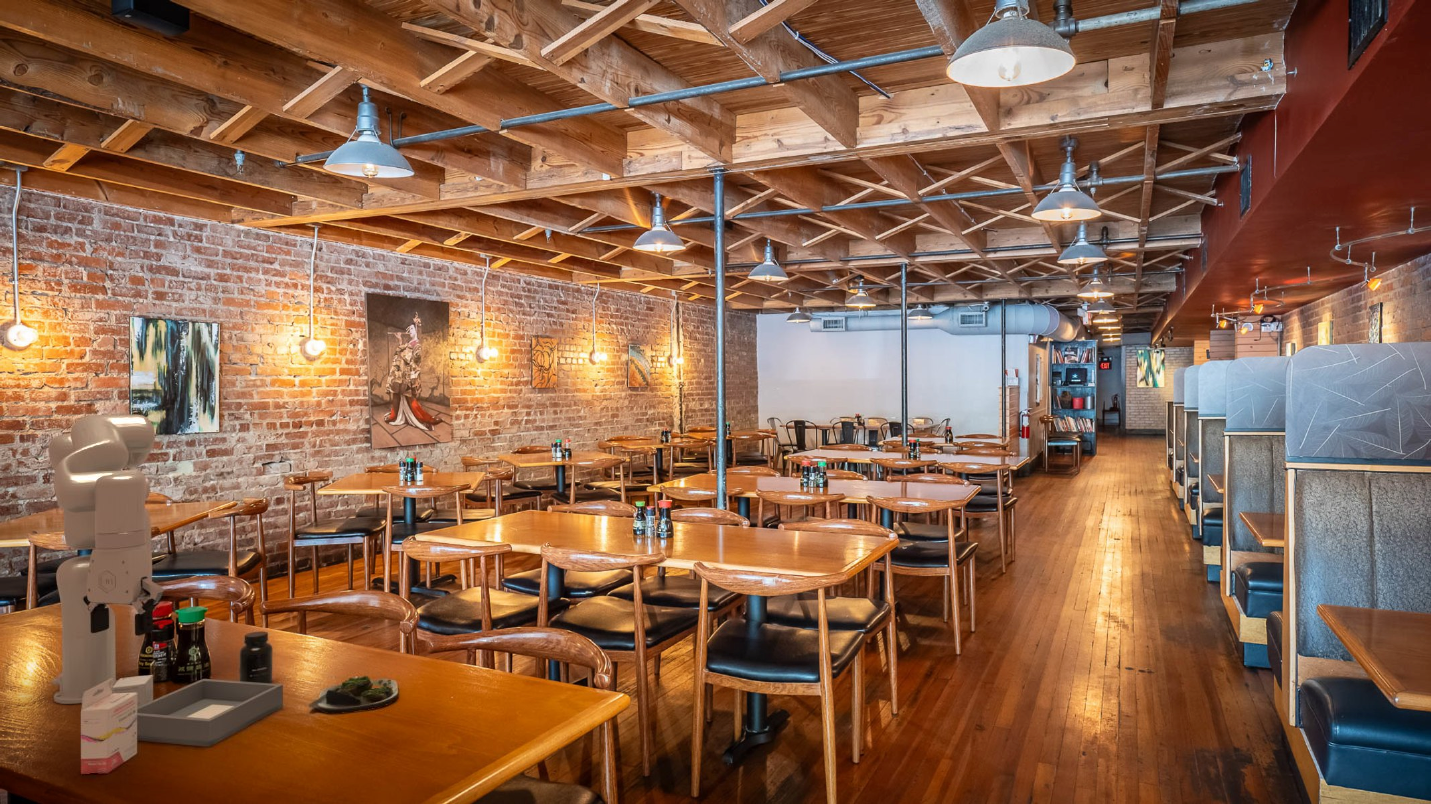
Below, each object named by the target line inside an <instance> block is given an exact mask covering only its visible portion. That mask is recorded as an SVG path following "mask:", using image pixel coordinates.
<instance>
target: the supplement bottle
mask: <svg viewBox="0 0 1431 804" xmlns="http://www.w3.org/2000/svg"><path fill="white" fill-rule="evenodd" d="M268 641H269V634H268V631H254V632H253V631H252V632H248V633H246V634H245V635H244V640H243V642H244V643H243V644H245V645H243V646H241V648H240V649H239V658H238V660H239V664H238V666H239V667H238V671H239V672H238V681H240V682H254V683H268V684H272V682H273V662H274V661H273V658H274V657H273V656H274V655H273V654H274V653H273V651H274V650H273V645H271V643H268Z"/></svg>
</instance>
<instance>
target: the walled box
mask: <svg viewBox="0 0 1431 804" xmlns="http://www.w3.org/2000/svg"><path fill="white" fill-rule="evenodd" d="M282 708H284V684H283V683H282V684H280V683H271V684H268V683H254V682H240V681H239V680H238V681H237V680H226V679H225V680H223V679H209V678H203V679H200V680H197V681H195V682H193V683H190V684H188V685H186V686H183V687H181V688H179V689H177V690H175V691H171V692H169V693H168V694H164V695H162V696H160V697H158V698H155V699H153V701H151V702H148V703H146V704H144V705H141V706H139V707H137V742H139V741H140V742H151V743H162V744H163V743H164V744H172V745H173V744H175V745H183V746H184V745H185V746H196V747H197V746H198V747H205V748H210V747H212V746H214V745H216V744H218V743H219V742H221V741H223V740H225V739H227V738H229V737H230V736H232V735H234V734H236V733H238V732H241V731H242V730H244V729H246V728H247V727H249V726H251V725H253V724H256V723H257V722H260V720H263V719H264V718H266V717H268V716H270V715H272V714H274V713H276V712H277V711H279V710H281V709H282Z"/></svg>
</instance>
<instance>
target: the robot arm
mask: <svg viewBox="0 0 1431 804" xmlns="http://www.w3.org/2000/svg"><path fill="white" fill-rule="evenodd" d="M155 441H156V432H155V428H154V425H153V423H152V421H151V420H150V419H149V418H148V417H146V416H145V415H142V414H135V413H134V414H95V415H88V416H84V417H82V418H80V419H79V420H77V421H75V422H74V424H73V425H72V427H71V429H70V432H67V433H62V434H59V435H56V436H54V437H53V438H52V439H51V440H50V441H49V444H48V456H49V460H50V461H49V462H50V465H51V467H52V469H53V472H54V475H53V488H54V493H55V494H54V495H55V498H56V501H57V505H58V506H59V507H60V508H61V509H62V511H63V532H64V534H63V535H64V540H65V543H66V545H67V547H68V548H70V549H73V550H79V551H80V550H92V551H91V553H90V554H87V555H81V556H80V555H79V556H77V557H72V558H70V559H67V560H65V561H63V562H62V563H60V565H59V566H58V567H57V570H56V577H55V578H56V585H57V591H58V595H59V599H60V606H61V632H62V634H61V635H62V636H61V638H62V641H61V643H62V644H61V645H62V647H61V648H62V653H61V655H62V672H61V673H59V674H57V677H56V678H52V681H51V684H52V685H56V686H59V691H57V692H56V693H55V694H54V695H53V700H54V702H56V704H57V703H58V704H63V705H73V704H74V705H75V704H82V699H83V693H84V692H85V691H87V690H89V689H91V688H93V687H95V686H97V685H99V684H101V683H103V682H105V681H107V680H109V679H111V678H113V686H114V685H115V684H116V683H117V682H118V680H119V679H116V678H117V677H116V676H117V675H116V617H115V616H116V615H115V612H114V610H113V609H112V608H111V606H110V605H120V606H121V605H122V606H123V605H124V606H125V605H129V604H131V605H132V606H133V608H134V610H135V611H136V612H137V613H135V614H134V635H135V637H137V636H139V637H140V636H143V635H146V634H149V633H152V632H153V630H154V621H153V619H154V618H153V616H154V615H153V614H154V613H153V611H155V610H156V609H157V606H158V605H159V604H160V603H161V599H162V596H163V594H164V592H165V591H164V588H163V587H161V586H160V585H159V584H157V583H156V582H154V581H153V577H152V576H153V553H152V549H153V548H152V526H151V519H150V515H149V512H148V509H146V501H147V499H148V498H149V497H150V491H151V486H150V480H149V478H148V477H146V474H144V473H143V472H142V471H139V470H135V469H134V470H132V468H138V467H141V466H142V465H143V464H144V463H145V462H146V461H147V459H148V457H149V455H150V453H151V452H152V450H153V449H154V446H155ZM130 468H131V469H130ZM123 469H126V470H123ZM142 602H143V604H142ZM102 691H103V689H101V690H99V689H98V691H97V692H95V693H94V694H93V697H94V696H96V695H98V694H99V693H102Z"/></svg>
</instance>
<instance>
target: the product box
mask: <svg viewBox="0 0 1431 804" xmlns="http://www.w3.org/2000/svg"><path fill="white" fill-rule="evenodd" d="M117 680H118V682H117V683H116V684H115V685H114V686H113V687H112V694H113V693H138V694H137V707H139V706H141V705H144V704H146V703H148V702H151V701H153V700H154V675H153V674H151V675H150V674H148V675H138V676H137V675H136V676H130V677H120V678H119V679H117Z"/></svg>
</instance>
